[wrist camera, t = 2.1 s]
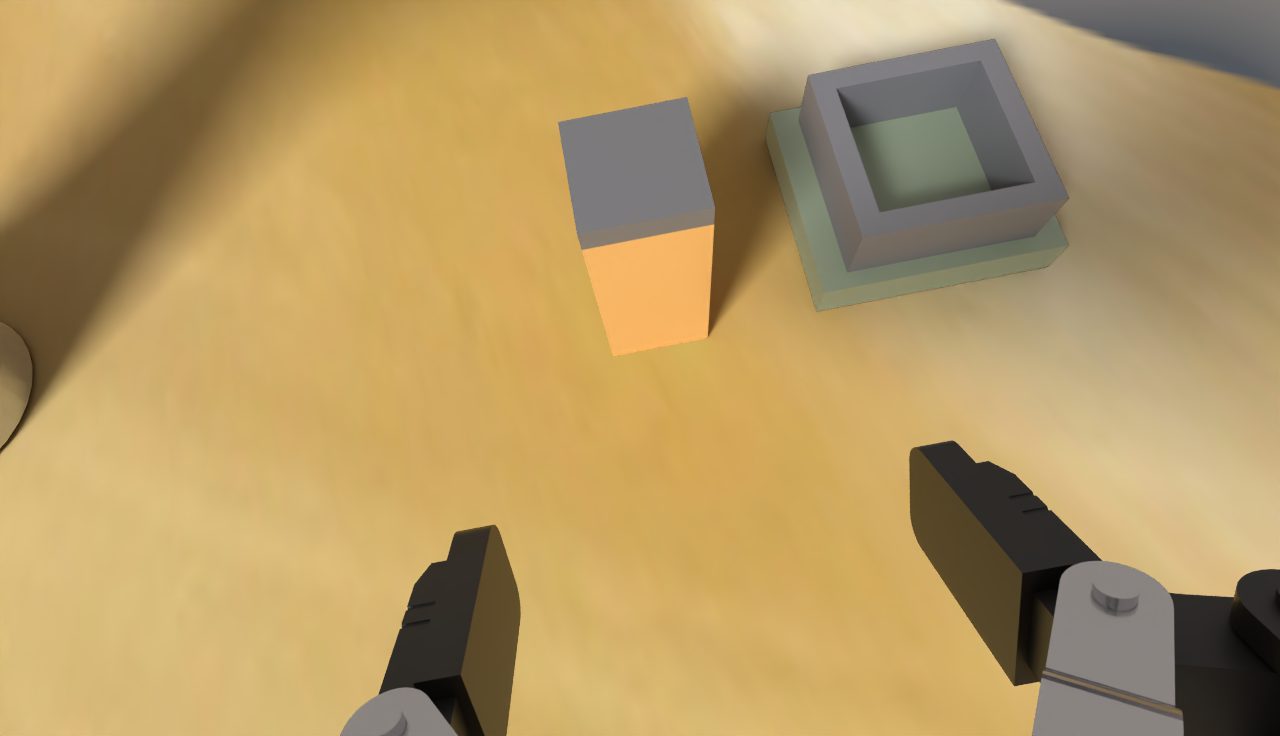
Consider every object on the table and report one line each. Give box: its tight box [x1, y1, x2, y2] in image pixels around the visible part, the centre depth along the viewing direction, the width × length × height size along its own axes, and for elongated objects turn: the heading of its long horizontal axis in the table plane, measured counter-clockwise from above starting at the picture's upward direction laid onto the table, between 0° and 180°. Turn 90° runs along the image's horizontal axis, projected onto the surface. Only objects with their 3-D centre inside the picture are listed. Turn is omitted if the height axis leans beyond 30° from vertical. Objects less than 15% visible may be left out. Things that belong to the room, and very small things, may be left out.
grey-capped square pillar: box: [558, 97, 715, 356], centre depth 28 cm, size 4×4×11 cm
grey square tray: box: [766, 39, 1069, 312], centre depth 32 cm, size 11×10×5 cm
